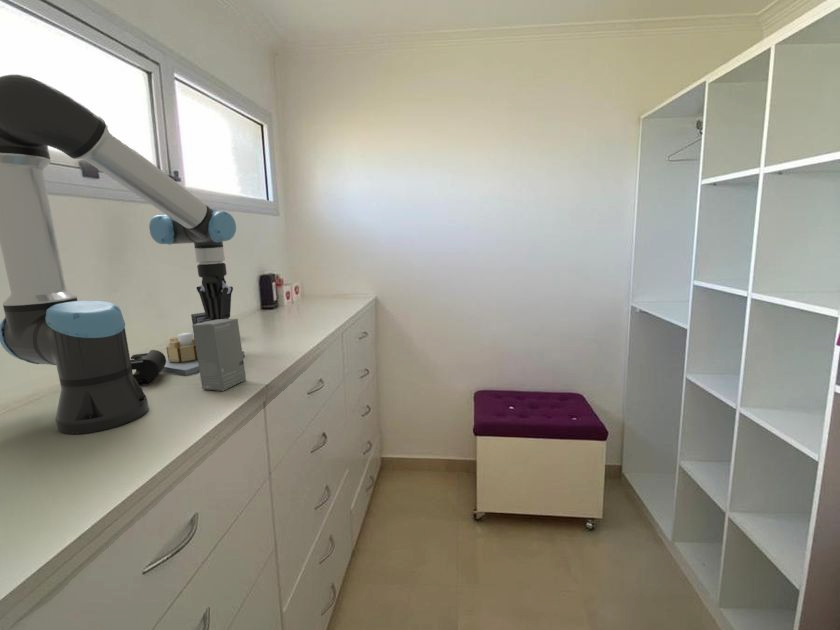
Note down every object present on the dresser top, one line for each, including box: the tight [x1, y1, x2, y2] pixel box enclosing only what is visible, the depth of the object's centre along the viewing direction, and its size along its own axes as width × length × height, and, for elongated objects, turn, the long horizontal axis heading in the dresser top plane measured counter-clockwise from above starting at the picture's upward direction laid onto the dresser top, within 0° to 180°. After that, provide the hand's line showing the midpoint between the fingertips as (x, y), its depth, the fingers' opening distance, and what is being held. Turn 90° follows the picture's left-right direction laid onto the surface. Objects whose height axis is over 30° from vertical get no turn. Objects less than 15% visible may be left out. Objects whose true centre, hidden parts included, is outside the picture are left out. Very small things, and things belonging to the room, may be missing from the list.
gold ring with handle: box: [165, 334, 198, 362], centre depth 127 cm, size 16×10×5 cm, turn 118°
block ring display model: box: [160, 332, 245, 377], centre depth 126 cm, size 19×18×8 cm
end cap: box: [130, 349, 166, 387], centre depth 112 cm, size 10×7×7 cm
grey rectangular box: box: [191, 318, 247, 392], centre depth 104 cm, size 8×7×16 cm
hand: (221, 341), depth 132 cm, fingers closed
